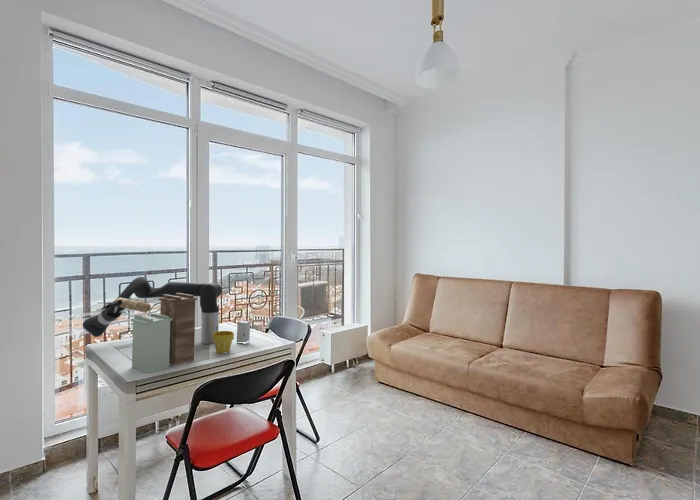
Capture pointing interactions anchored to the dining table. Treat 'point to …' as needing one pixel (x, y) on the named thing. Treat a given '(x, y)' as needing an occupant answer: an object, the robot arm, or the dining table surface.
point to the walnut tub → (180, 326)
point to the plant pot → (223, 341)
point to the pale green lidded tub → (151, 342)
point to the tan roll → (134, 305)
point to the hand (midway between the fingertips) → (126, 300)
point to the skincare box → (243, 331)
